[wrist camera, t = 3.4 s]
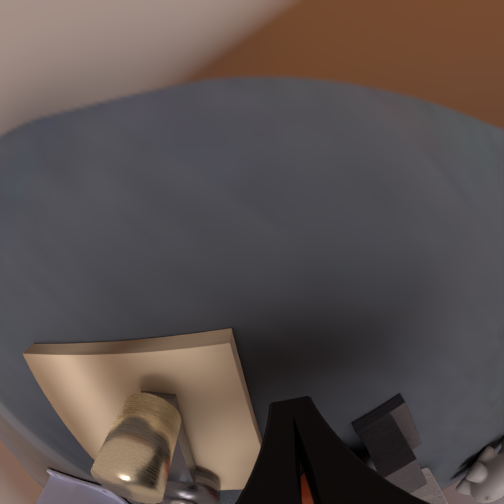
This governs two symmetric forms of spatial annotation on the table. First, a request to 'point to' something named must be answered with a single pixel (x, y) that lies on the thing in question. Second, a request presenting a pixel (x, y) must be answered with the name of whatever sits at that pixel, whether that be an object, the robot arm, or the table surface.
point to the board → (157, 380)
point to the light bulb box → (430, 490)
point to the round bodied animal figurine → (485, 476)
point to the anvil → (392, 443)
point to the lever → (152, 455)
